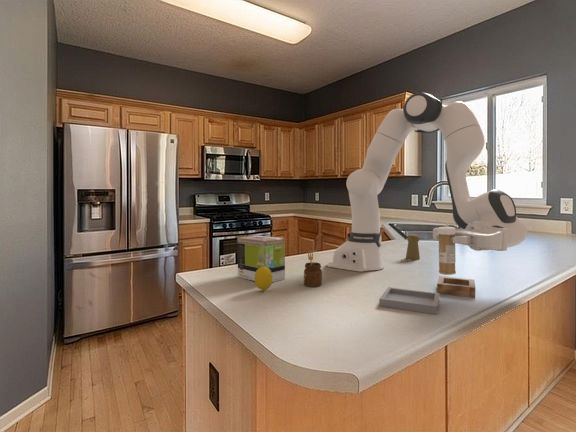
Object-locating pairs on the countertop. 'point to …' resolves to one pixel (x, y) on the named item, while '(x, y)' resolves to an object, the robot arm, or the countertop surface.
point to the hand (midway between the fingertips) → (444, 238)
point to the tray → (410, 300)
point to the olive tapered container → (412, 247)
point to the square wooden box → (456, 286)
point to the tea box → (261, 256)
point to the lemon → (263, 278)
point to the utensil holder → (312, 272)
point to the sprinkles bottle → (446, 251)
